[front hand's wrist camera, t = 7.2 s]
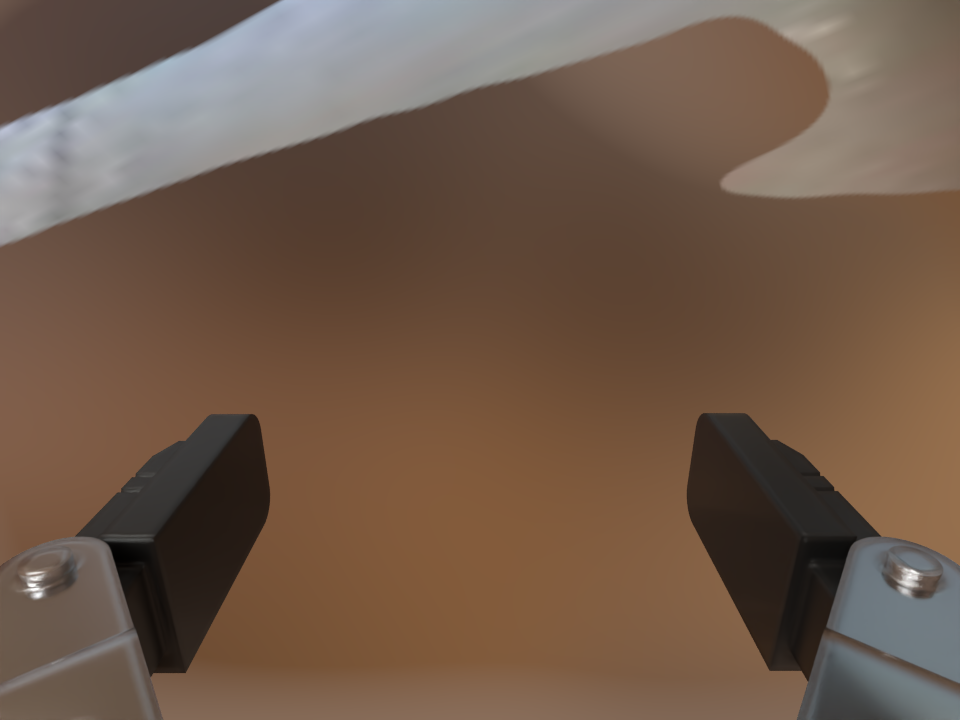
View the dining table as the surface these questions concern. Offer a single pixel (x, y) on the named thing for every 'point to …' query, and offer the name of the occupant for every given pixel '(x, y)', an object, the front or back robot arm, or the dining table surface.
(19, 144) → the dining table surface
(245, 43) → the dining table surface
